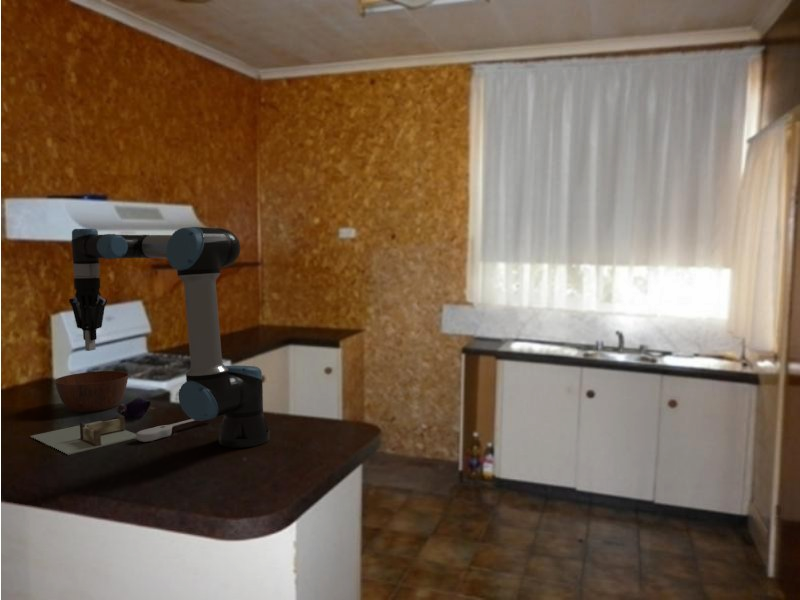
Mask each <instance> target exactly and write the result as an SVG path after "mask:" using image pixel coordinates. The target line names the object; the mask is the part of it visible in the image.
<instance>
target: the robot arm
mask: <svg viewBox="0 0 800 600" xmlns="http://www.w3.org/2000/svg"><path fill="white" fill-rule="evenodd" d="M70 243H71V249H72V251H71V252H72V253H71V254H72V266H73V268H72V271H73V276H74V277H75V278H74V279H73V287H74V290H75V294H74V295H75V296H74V297H72V298H69V300H68V302H69V304H70V305H71V308H72V312H73V315H74V319H75V325H76V327H77V328H78V329H81V330H82V336H83V337H82V338H83V340H84V345H85V346H84V347H85V352H90V351H91V352H92V351H95V350H96V348H97V347H96V340H97V331H98V330H97V329H100V328H103V327H102V326H103V321H104V313H105V309H106V305H107V302H108V299H107V298H104V297H102V296H101V295H102V294H101V292H100V289H101V278H100V277H99V276H101V273H100V259H108V260H116V259H167V262H168V263H169V265H170V267H172V268H173V269H175V270H176V274H177V278H178V279H180V280H181V281H182V282H183V286H184V299H185V312H186V324H187V334H188V335H187V336H188V346H189V347H188V349H189V357H190V358H189V360H190V368H189V369H188V370H186V372H185V382H184V383H182V384H181V386H180V388H179V390H178V402H179V406H180V407H181V409H182V411H183V413H185V414H186V415H187V417H189V418H190V419H194V420H196V421H198V422H203V421H207V420H213V419H215V418H217V417H219V416H222V415H223V419H222V423H221V427H220V430H219V433H218V444H219V445H220V446H223V447H226V448H234V449H235V448H239V449H240V448H250V447H257V446H260V445H263V444H265V443H267V442H269V441H270V439H271V438H270V437H271V435H270V434H271V433H270V429H269V427H268V424H267V421H266V419H265V415H264V397H263V394H264V392H263V391H264V389H263V388H264V387H263V381H264V380H263V375H262V370H261V368H259V367H258V366H254V365H253V366H252V365H225V364H224V363H223V356H222V344H221V342H222V341H221V332H220V331H221V330H220V329H221V328H220V320H219V319H220V318H219V307H218V305H219V304H218V293H217V279H218V278H219V277H220V275H221V268H222V269H223V268H226V267H230V266H232V265H233V264H234V263H235V262H236V261H237V260H238V258H239V256H240V254H241V243H240V241H239V239H238V236H236V234H234V233H233V232H232V231H230V230H228V229H226V228H220V227H214V228H213V227H204V226H203V227H202V226H201V227H199V226H191V227H181V228H179V229H177V230H175V231H174V232H173V233H172V234H151V235H150V234H115V233H106V234H99V233H98V230H97V229H96V228H74V229H73V230H72V231H71V241H70Z"/></svg>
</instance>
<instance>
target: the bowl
mask: <svg viewBox="0 0 800 600" xmlns="http://www.w3.org/2000/svg"><path fill="white" fill-rule="evenodd" d="M128 380H129V373H128V372H125V371H118V370H99V371H87V372H86V371H85V372H79V373H72V374H69V375H64V376H61V377H58V378H56V379H55V380H54V384H55V388H56V391H57V394H58V396H59V398H60V401H61V403H63V405H64V407H66V409H68V410H69V411H71V412H76V413H93V412H95V413H96V412H103V411H106V410H109V409H113V408H115V407H116V406H119V405H120V404H121V401H122V400H123V398H124V396H125V395H124V394H125V393H126V389H127V385H128Z"/></svg>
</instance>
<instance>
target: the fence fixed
mask: <svg viewBox="0 0 800 600" xmlns="http://www.w3.org/2000/svg"><path fill="white" fill-rule="evenodd" d="M85 424H86V423H85V422H83V421H81V422H79V425H80V438H81V440H83V439H85V440H88V441H90V442H92V443H94V445H95V446H100V445H101V435H100V430H99V429H97V430H94V429H91V428H89V427H85Z"/></svg>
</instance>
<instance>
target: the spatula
mask: <svg viewBox="0 0 800 600" xmlns="http://www.w3.org/2000/svg"><path fill="white" fill-rule="evenodd" d="M195 421H197V420H194V419H192V418H190V419H186V420H183V421H178V422H176V423H175V422H174V423H171V424H165V425H158V426H155V427H151V428H150V427H149V428H145V429H142V430H139V431H137V432H136V433H135V434H136V438H135V440H137V441H138V442H141V443H147V442H153V441H155V440H159V439H163V438H166V437H167V438H168V437H170V436H171V435H172V433H173V427H177V426H180V425H184V424H187V423H191V422H195Z"/></svg>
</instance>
